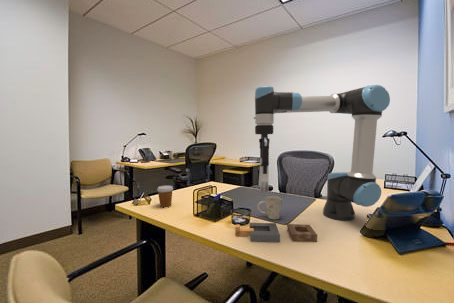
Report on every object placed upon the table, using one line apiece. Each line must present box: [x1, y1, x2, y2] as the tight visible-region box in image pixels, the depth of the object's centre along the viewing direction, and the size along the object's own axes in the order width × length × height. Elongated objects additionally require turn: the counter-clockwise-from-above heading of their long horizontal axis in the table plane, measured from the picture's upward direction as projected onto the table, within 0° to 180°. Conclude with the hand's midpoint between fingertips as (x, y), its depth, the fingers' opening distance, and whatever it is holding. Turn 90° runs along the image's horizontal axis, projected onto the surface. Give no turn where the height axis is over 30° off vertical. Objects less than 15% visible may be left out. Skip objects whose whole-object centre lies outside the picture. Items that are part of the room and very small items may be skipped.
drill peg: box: [259, 157, 269, 193], centre depth 94 cm, size 4×4×14 cm
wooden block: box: [234, 224, 254, 237], centre depth 97 cm, size 8×3×4 cm, turn 86°
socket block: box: [248, 222, 281, 243], centre depth 97 cm, size 12×12×3 cm
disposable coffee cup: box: [156, 185, 174, 208], centre depth 136 cm, size 10×10×12 cm
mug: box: [257, 196, 283, 220], centre depth 117 cm, size 8×13×10 cm, turn 78°
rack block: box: [286, 223, 318, 243], centre depth 96 cm, size 10×10×3 cm
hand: (264, 180), depth 95 cm, fingers closed on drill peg, 3 cm apart
